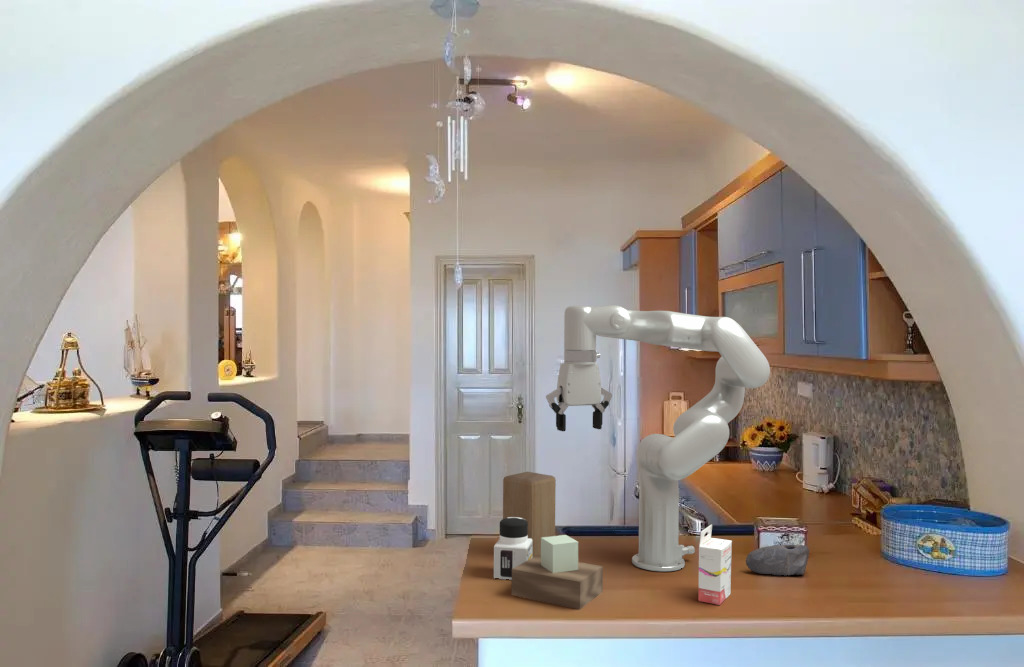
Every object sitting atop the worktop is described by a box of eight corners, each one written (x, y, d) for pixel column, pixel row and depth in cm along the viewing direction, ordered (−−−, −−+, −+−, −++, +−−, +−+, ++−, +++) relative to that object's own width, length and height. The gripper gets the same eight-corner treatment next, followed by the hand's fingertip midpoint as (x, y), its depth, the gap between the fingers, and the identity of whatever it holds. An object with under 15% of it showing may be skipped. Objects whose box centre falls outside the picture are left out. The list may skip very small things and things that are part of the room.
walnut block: (537, 581, 173) (537, 554, 173) (602, 593, 165) (602, 566, 165) (511, 597, 163) (511, 569, 163) (579, 611, 155) (580, 581, 155)
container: (526, 581, 172) (527, 524, 171) (493, 579, 173) (493, 522, 173) (532, 570, 179) (533, 516, 179) (500, 568, 181) (501, 514, 181)
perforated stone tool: (747, 576, 176) (748, 547, 176) (743, 569, 182) (743, 540, 182) (814, 579, 175) (814, 549, 175) (807, 572, 180) (807, 542, 180)
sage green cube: (565, 561, 168) (565, 534, 168) (578, 569, 162) (578, 541, 162) (541, 565, 166) (541, 537, 166) (552, 573, 160) (552, 544, 160)
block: (500, 555, 191) (501, 476, 191) (526, 546, 199) (526, 470, 199) (531, 563, 185) (532, 481, 185) (556, 554, 193) (557, 475, 192)
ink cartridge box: (721, 606, 157) (721, 535, 157) (697, 601, 160) (698, 531, 160) (732, 593, 165) (732, 526, 165) (709, 589, 167) (709, 523, 167)
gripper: (603, 356, 187) (602, 426, 187) (540, 357, 180) (539, 429, 180) (619, 358, 180) (618, 429, 180) (554, 358, 173) (554, 433, 174)
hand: (579, 429), depth 180 cm, fingers open, 9 cm apart
